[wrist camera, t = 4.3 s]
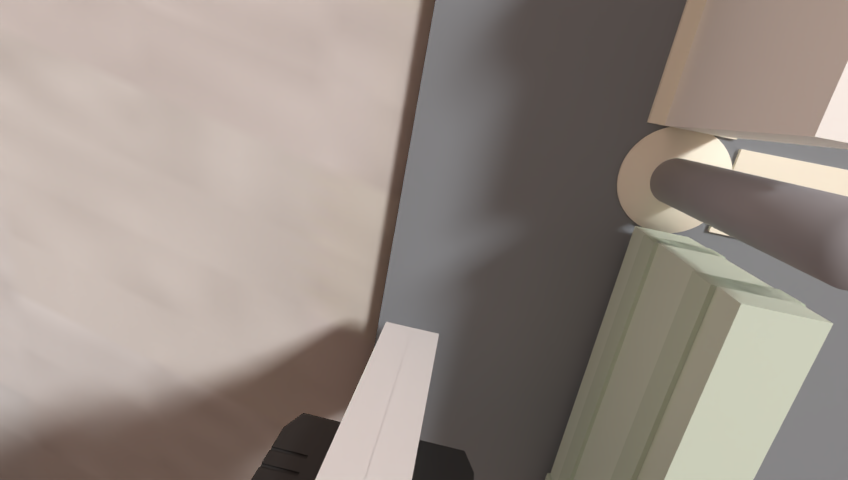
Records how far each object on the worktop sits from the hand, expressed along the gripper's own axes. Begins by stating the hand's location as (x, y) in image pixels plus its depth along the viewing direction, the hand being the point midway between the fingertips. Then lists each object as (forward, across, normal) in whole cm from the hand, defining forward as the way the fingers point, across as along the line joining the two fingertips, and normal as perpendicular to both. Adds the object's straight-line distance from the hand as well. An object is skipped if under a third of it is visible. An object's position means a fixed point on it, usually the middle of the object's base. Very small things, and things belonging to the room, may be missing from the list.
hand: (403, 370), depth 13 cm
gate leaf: (+1, +6, 0) cm, 6 cm away
